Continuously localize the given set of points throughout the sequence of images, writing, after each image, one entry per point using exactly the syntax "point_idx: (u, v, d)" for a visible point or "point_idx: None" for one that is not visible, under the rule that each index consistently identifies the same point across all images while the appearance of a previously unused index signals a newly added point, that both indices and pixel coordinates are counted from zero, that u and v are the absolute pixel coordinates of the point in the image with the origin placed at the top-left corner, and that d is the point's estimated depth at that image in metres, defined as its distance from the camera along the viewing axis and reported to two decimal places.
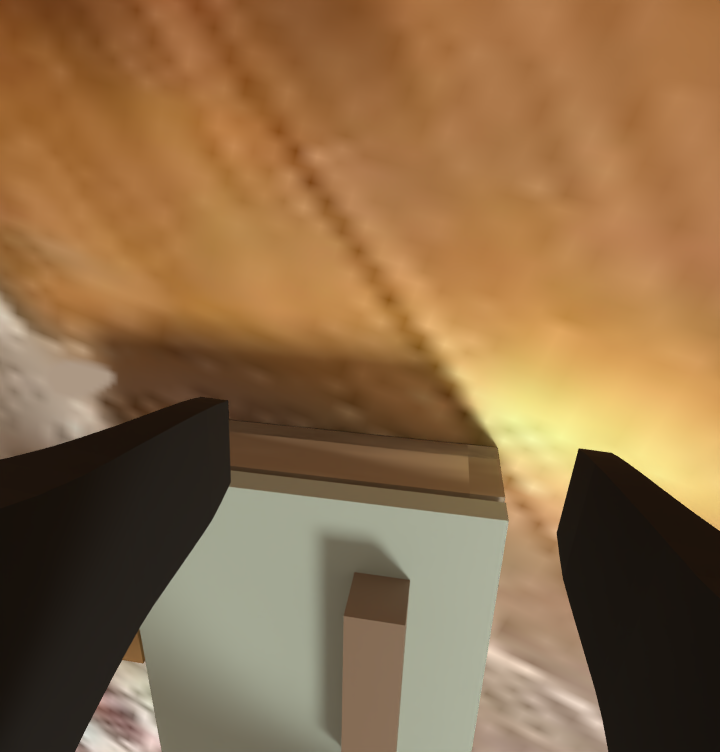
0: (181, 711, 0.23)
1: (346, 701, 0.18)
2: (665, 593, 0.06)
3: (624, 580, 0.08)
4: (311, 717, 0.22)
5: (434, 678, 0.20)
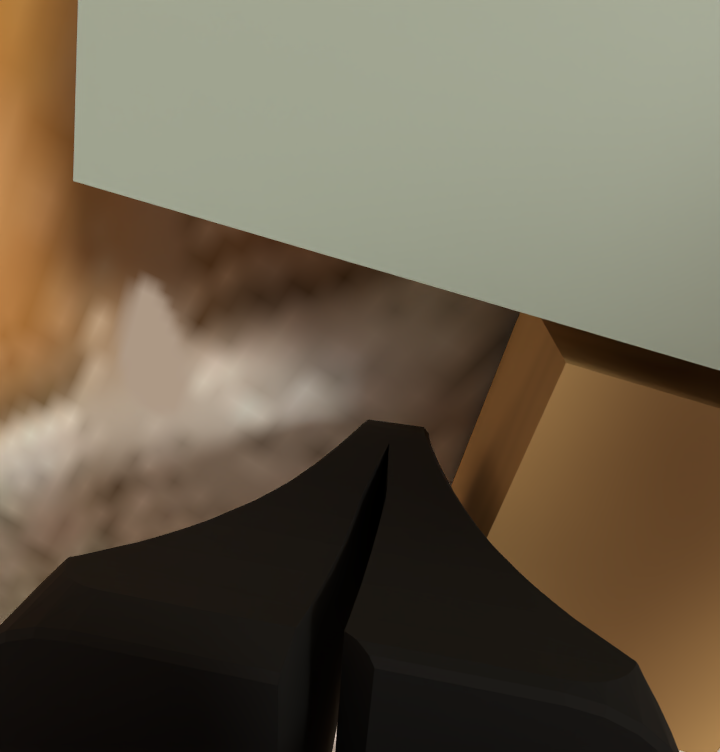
0: None
1: None
2: None
3: None
4: None
5: None
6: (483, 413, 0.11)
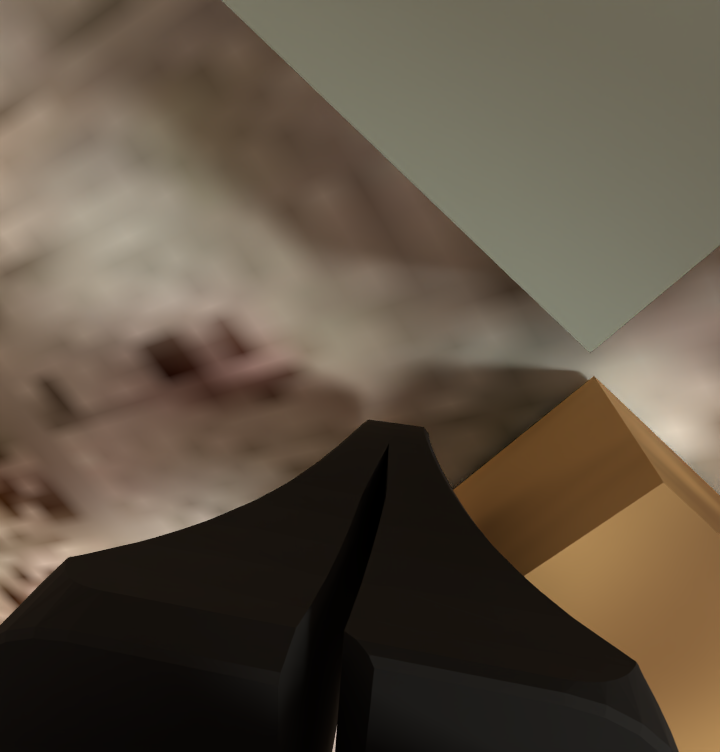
0: (444, 15, 0.05)
1: None
2: None
3: None
4: None
5: None
6: (500, 459, 0.12)
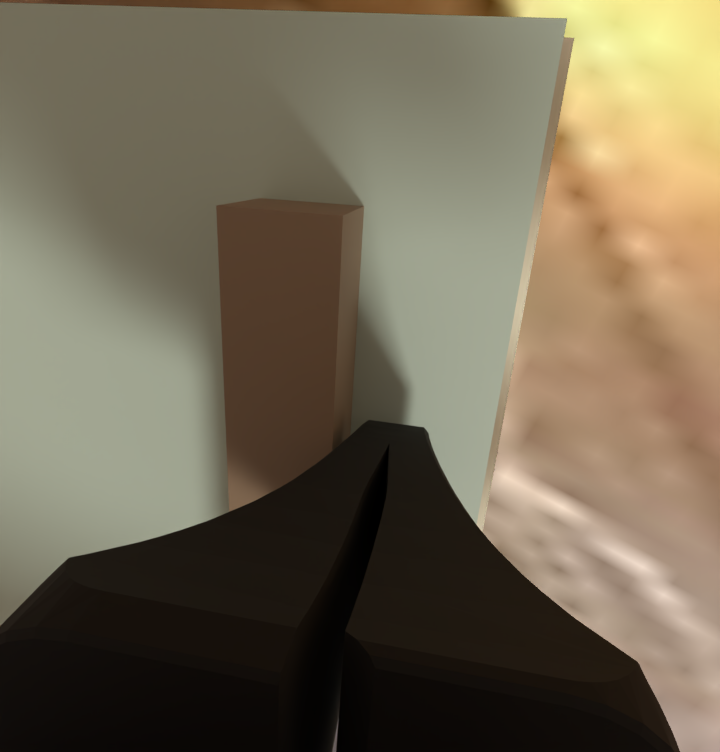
0: None
1: (233, 433, 0.10)
2: None
3: None
4: None
5: None
6: None
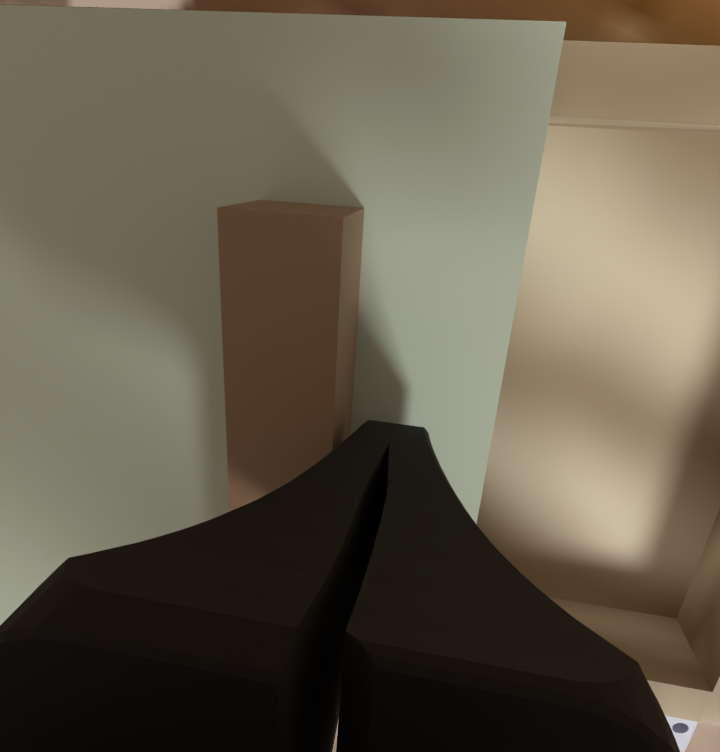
0: None
1: (234, 433, 0.10)
2: None
3: None
4: None
5: None
6: None
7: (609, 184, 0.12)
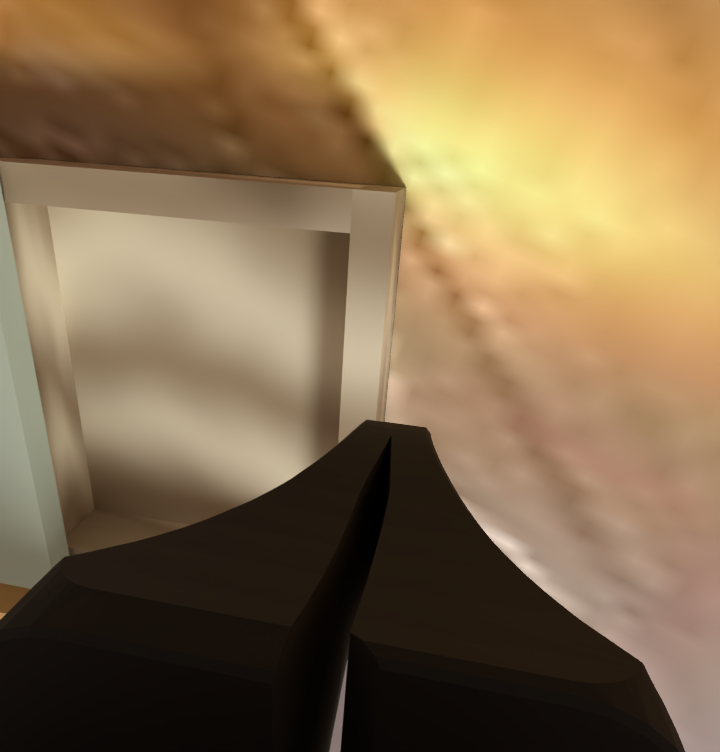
0: None
1: None
2: None
3: None
4: None
5: None
6: None
7: (224, 246, 0.18)
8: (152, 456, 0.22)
